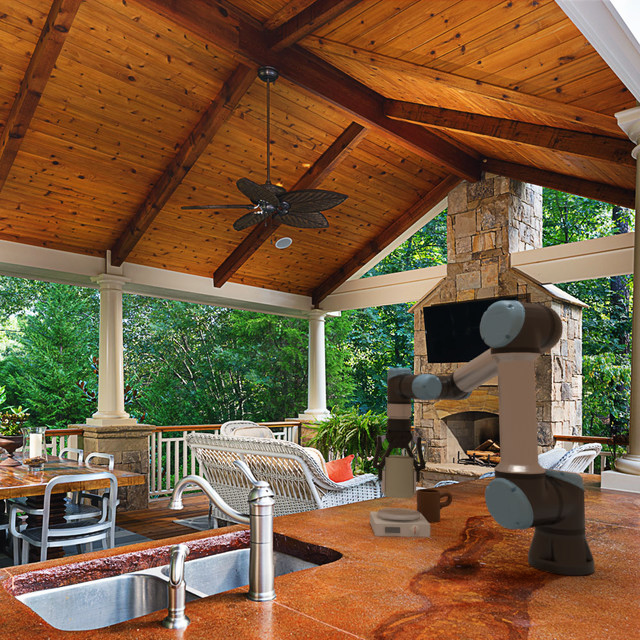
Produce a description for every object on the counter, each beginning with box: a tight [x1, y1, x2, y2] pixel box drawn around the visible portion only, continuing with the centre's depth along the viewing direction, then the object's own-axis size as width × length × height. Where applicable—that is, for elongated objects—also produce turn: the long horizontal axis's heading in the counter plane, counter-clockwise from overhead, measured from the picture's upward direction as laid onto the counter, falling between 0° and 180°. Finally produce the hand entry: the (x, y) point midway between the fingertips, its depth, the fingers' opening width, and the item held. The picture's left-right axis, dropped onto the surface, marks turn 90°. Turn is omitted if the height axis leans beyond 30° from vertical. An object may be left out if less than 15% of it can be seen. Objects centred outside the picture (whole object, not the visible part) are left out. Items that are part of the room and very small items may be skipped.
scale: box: [369, 507, 431, 538], centre depth 175 cm, size 16×16×5 cm
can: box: [383, 454, 415, 499], centre depth 177 cm, size 9×9×12 cm
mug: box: [416, 488, 453, 523], centre depth 190 cm, size 12×8×9 cm, turn 98°
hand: (398, 492), depth 177 cm, fingers closed on can, 9 cm apart
